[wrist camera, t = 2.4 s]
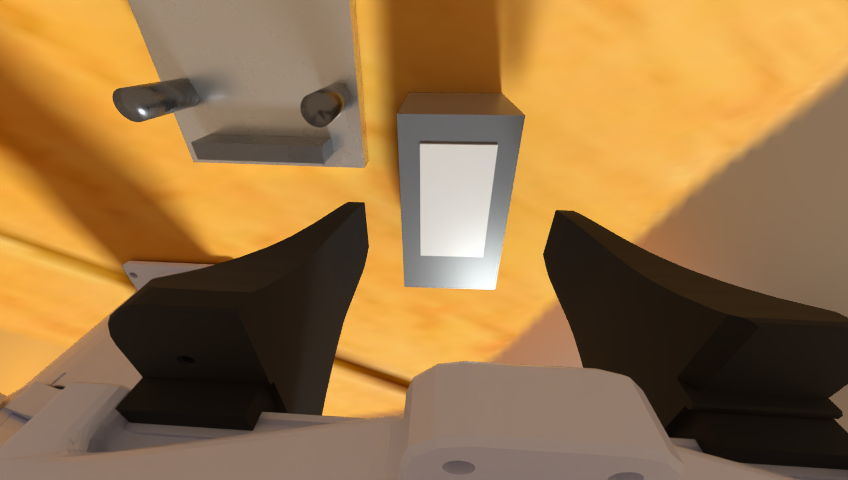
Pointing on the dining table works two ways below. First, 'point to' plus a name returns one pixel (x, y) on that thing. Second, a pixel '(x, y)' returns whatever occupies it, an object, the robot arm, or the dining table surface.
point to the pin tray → (255, 79)
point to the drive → (456, 186)
